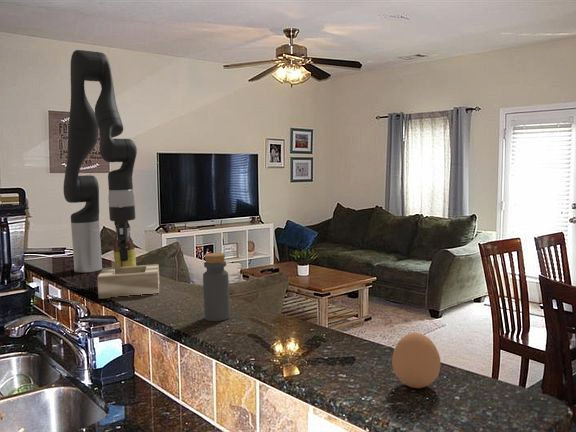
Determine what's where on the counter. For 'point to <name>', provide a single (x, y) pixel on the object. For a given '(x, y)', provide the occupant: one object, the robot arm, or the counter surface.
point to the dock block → (128, 281)
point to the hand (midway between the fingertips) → (125, 258)
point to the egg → (416, 360)
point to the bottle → (216, 288)
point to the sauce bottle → (131, 249)
